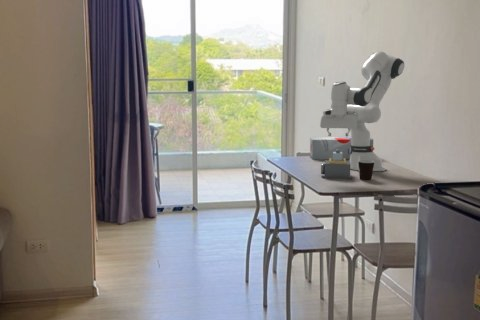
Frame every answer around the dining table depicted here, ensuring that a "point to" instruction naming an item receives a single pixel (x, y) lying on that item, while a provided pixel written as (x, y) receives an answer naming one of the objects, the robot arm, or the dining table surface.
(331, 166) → the dark grey toaster
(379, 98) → the robot arm
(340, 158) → the light blue block
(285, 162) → the dining table surface
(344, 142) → the soda pack
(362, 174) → the coffee mug
